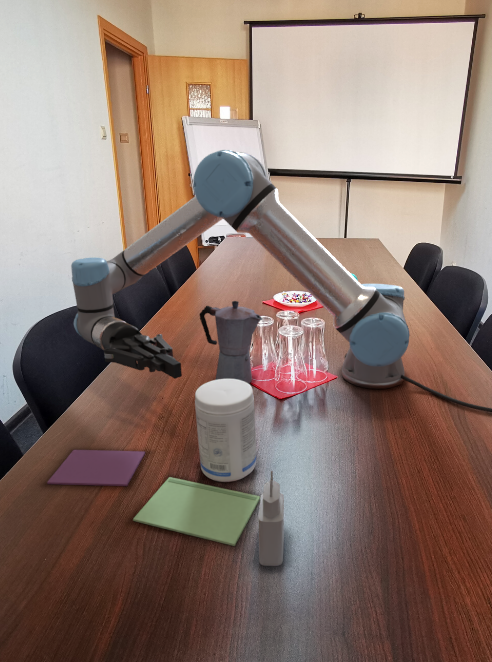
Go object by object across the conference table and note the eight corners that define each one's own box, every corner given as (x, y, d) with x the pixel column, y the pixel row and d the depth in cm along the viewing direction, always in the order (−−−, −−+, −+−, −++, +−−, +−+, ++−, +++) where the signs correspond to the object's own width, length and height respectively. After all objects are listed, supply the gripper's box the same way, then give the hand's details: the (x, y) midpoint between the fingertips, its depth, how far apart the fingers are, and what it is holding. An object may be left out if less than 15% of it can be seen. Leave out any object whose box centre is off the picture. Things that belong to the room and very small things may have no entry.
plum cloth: (145, 453, 82) (145, 451, 82) (126, 486, 74) (126, 484, 74) (73, 451, 83) (73, 449, 83) (47, 484, 74) (46, 482, 74)
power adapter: (258, 565, 60) (257, 489, 56) (261, 533, 65) (260, 462, 61) (282, 565, 60) (282, 490, 56) (283, 534, 65) (284, 462, 61)
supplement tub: (242, 444, 85) (240, 373, 80) (266, 473, 78) (265, 395, 73) (192, 460, 81) (186, 385, 76) (211, 492, 73) (206, 410, 68)
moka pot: (257, 392, 105) (256, 308, 98) (194, 385, 108) (188, 304, 101) (268, 375, 114) (267, 297, 107) (209, 369, 116) (205, 293, 110)
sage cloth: (260, 498, 72) (260, 495, 72) (234, 546, 63) (234, 543, 62) (169, 478, 76) (169, 476, 76) (133, 521, 67) (132, 518, 67)
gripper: (147, 346, 105) (208, 378, 89) (90, 362, 96) (147, 401, 80) (143, 315, 102) (206, 342, 86) (84, 329, 93) (142, 362, 78)
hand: (177, 370), depth 83 cm, fingers closed
